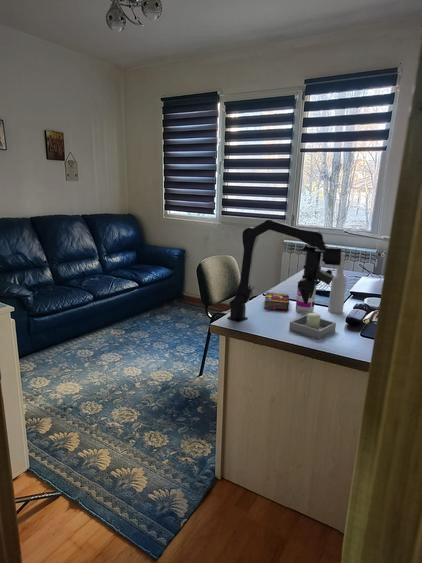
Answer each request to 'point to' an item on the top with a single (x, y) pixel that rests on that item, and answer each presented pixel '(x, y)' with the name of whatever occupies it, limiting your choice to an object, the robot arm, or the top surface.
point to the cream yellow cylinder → (313, 320)
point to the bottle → (338, 289)
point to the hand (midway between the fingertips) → (307, 300)
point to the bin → (324, 328)
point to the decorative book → (276, 301)
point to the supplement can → (305, 307)
